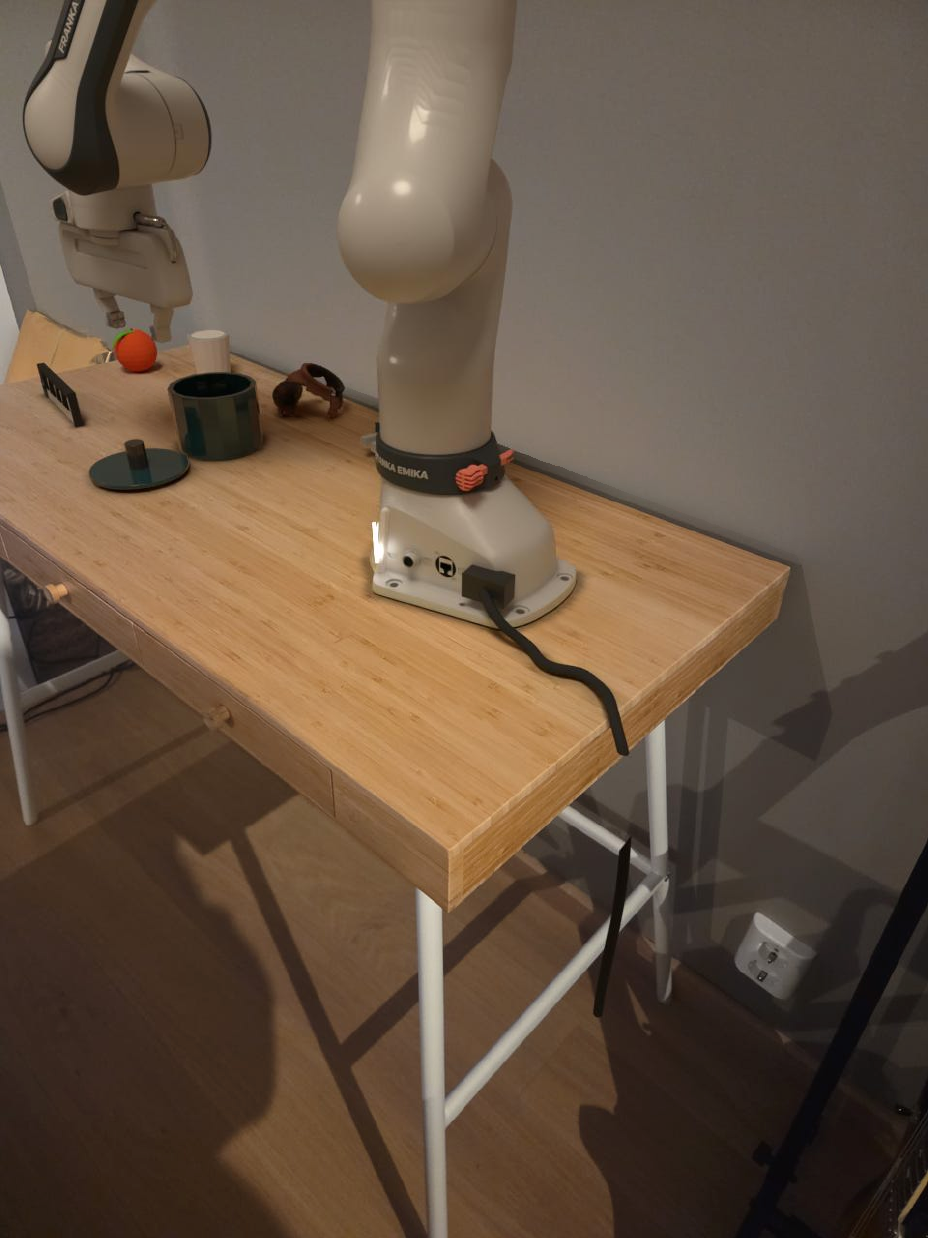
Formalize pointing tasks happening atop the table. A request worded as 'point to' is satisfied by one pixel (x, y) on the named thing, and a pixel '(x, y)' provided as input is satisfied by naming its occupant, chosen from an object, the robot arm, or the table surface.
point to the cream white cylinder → (210, 350)
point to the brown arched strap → (308, 389)
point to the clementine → (135, 350)
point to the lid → (138, 467)
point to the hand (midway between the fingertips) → (139, 333)
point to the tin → (216, 415)
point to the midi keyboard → (60, 394)
